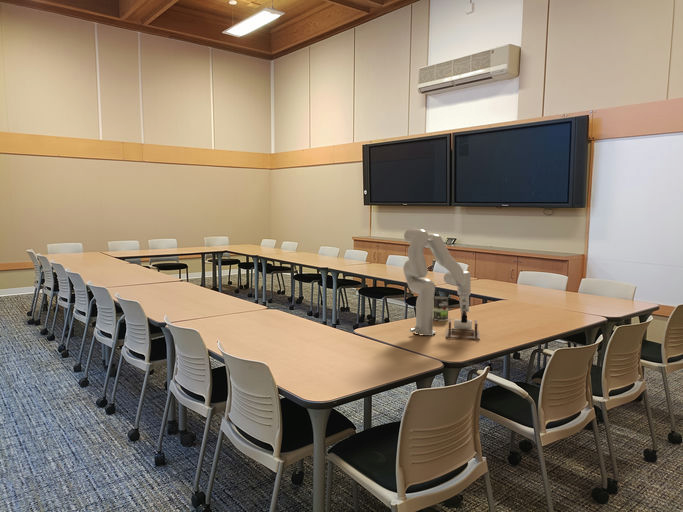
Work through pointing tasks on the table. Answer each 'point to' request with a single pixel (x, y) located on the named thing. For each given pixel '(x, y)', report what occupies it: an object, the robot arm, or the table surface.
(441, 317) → the coffee can
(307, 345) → the table surface
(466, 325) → the paper towel roll
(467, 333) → the roll holder
